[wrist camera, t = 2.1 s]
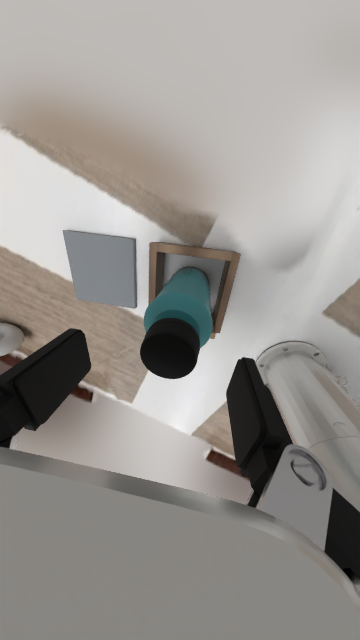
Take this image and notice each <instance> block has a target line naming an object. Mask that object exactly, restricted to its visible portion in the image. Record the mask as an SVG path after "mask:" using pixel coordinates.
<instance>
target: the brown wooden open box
mask: <svg viewBox="0 0 360 640" xmlns="http://www.w3.org/2000/svg"><path fill="white" fill-rule="evenodd" d="M165 253H172V254H179V255H187V256H195V257H202V258H210V259H218V260H225V261H226V262H225V266H224V270H223V275H222V279H221V284H220V288H219V292H218V297H217V301H216V305H215V310H214V314H211V317H212V323H213V327H212V333H211V336H210V338H211V339H214V338H215V334H216V333H220V331H221V327H222V323H223V319H224V315H225V312H226V308H227V304H228V300H229V297H230V293H231V289H232V285H233V281H234V278H235V274H236V270H237V266H238V263H239V259H240V255H241V254H239V253H237V252H234V251H226V250H218V249H210V248H202V247H194V246H186V245H178V244H170V243H162V242H150V249H149V304H150V303H151V302H152V301H153V300H154V299H155V298H156V297H157V296H158V295H159V293H160V292H161V291H162V289H163V275H164V258H165Z"/></svg>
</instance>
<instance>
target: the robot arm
mask: <svg viewBox="0 0 360 640" xmlns="http://www.w3.org/2000/svg"><path fill="white" fill-rule="evenodd" d="M90 369H91V362H90V357H89V353H88V348H87V343H86V338H85V334H84V333H83V332H82V331H81V330H78V329H72V328H71V329H68V330H67V331H65V332H64V333H62V334H61V335H59V336H58V337H56V338H55V339H54V340H52V341H51V342H49V343H48V344H46V345H45V346H43V347H42V348H40V349H39V350H37V351H36V352H34V353H33V354H31V355H30V356H28V357H27V358H25V359H24V360H22V361H21V362H19V363H18V364H16V365H15V366H13V367H12V368H10V369H9V370H8V371H6V372H5V373H3V374H2V375H0V640H360V407H359V406H358V405H357V404H356V403H355V402H354V401H353V400H352V399H351V398H350V397H349V396H348V394H347V390H346V388H345V387H343V386H339V385H338V384H344V385H345V384H346V383H347V380H346V378H345V377H342V376H334V375H332V373H331V372H330V371H329V370H328V369H327V361H326V358H325V356H324V355H323V354H322V352H320V351H319V350H318V349H317V348H316V347H314V346H312V345H310V344H307V343H303V342H286V343H281V344H278V345H275V346H273V347H271V348H269V349H268V350H266V351H265V352H264V353H263V354H261V356H260V357H259V358H258V360H257V362H256V363H255V361H254V359H250V358H244V357H242V359H239V360H238V361H237V364H236V367H235V370H234V372H233V375H232V378H231V380H230V383H229V386H228V389H227V393H226V396H227V404H228V410H229V417H230V424H231V431H232V438H233V445H234V452H235V459H236V464H237V466H238V467H240V469H241V475H242V476H244V477H249V478H250V483H251V487H252V488H253V490H252V492H251V494H250V497H249V499H248V501H247V503H246V505H244V504H241V503H238V502H234V501H231V500H227V499H223V498H219V497H215V496H211V495H207V494H203V493H199V492H196V491H192V490H188V489H183V488H179V487H174V486H170V485H166V484H161V483H158V482H153V481H149V480H145V479H141V478H136V477H132V476H127V475H123V474H119V473H115V472H110V471H106V470H101V469H97V468H92V467H88V466H84V465H79V464H75V463H71V462H66V461H62V460H58V459H53V458H49V457H44V456H40V455H35V454H31V453H26V452H22V451H17V450H16V444H17V440H18V434H19V431H20V430H21V429H22V428H23V427H24V428H25V429H28V430H33V431H36V429H37V428H38V427H39V426H40V425H41V424H43V423H45V422H46V421H47V420H48V418H49V417H50V416H51V415H52V414H53V413H54V411H55V410H56V409H57V408H58V407H59V406H60V405H61V403H62V402H63V401H64V400H65V399H66V398H67V396H68V395H69V394H70V393H71V392H72V391H73V389H74V388H75V387H76V386H77V385H78V384H79V382H80V381H81V380H82V379H83V378H84V377H85V375H86V374H87V373H88V372H89V371H90ZM337 383H338V384H337ZM269 389H270V390H271V391H272V394H273V396H274V398H275V401H276V403H277V405H278V408H279V410H280V412H281V414H282V417H283V419H284V421H285V424H286V426H287V428H288V430H289V433H290V435H291V437H292V440H293V442H294V444H293V442H292V440H291V438H290V435H289V433H288V431H287V428H286V426H285V424H284V422H283V419H282V417H281V415H280V412H279V410H278V408H277V406H276V403H275V401H274V399H273V396H272V394H271V392H270V390H269Z"/></svg>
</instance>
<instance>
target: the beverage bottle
mask: <svg viewBox="0 0 360 640" xmlns="http://www.w3.org/2000/svg"><path fill="white" fill-rule="evenodd" d="M173 275H174V274H173ZM173 275H172V276H173ZM167 282H168V281H167ZM209 285H210V284H208V280H207V277H206V276H205V275H204V273H203V272H201V271H200V270H198V269H196V268H192V267H187V268H186V267H185V268H183V269H181V270H179V271H178V272H177V273H176V274H175V275H174V276H173V277H171V279H170V281H169V282H168V283H167V284H166V285H165V286H164V288H163V289H162V291H161V292H160V293H159V295H158V296H157V297H156V298H155V299H154V300H153V301H152V302H151V303H150V304H149V306H148V307H147V309H146V312H145V316H144V326H145V330H146V332H147V333H146V335H145V338H144V341H143V343H142V345H141V349H140V356H141V359H142V362H143V364H144V365H145V366H146V368H147V369H148V370H150V371H151V372H152V373H154V374H155V375H157V376H160V377H163V378H168V379H178V378H182V377H184V376H186V375H188V374H189V373H190V372H191V371H192V370H193V369H194V367H195V365H196V363H197V358H198V354H199V351H200V348H201V347H202V346H204V345H205V344H206V342H207V341H208V340H209V338H210V336H211V333H212V327H213V323H212V317H211V308H210V295H211V294H210V293H209V292H210V291H209ZM211 302H212V301H211Z"/></svg>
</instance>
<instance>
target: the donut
mask: <svg viewBox="0 0 360 640" xmlns="http://www.w3.org/2000/svg"><path fill="white" fill-rule="evenodd" d="M0 337H2V339H0V356H3V355H6V354H8V353H10V352H12V351H14V350H15V349H17V348H18V347H19V346H20V345H21V344H22V342H23V341H24V334H23V332H22V331H21V329H19V328H18V327H16V326H14V325H10V324H7V323H0Z"/></svg>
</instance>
